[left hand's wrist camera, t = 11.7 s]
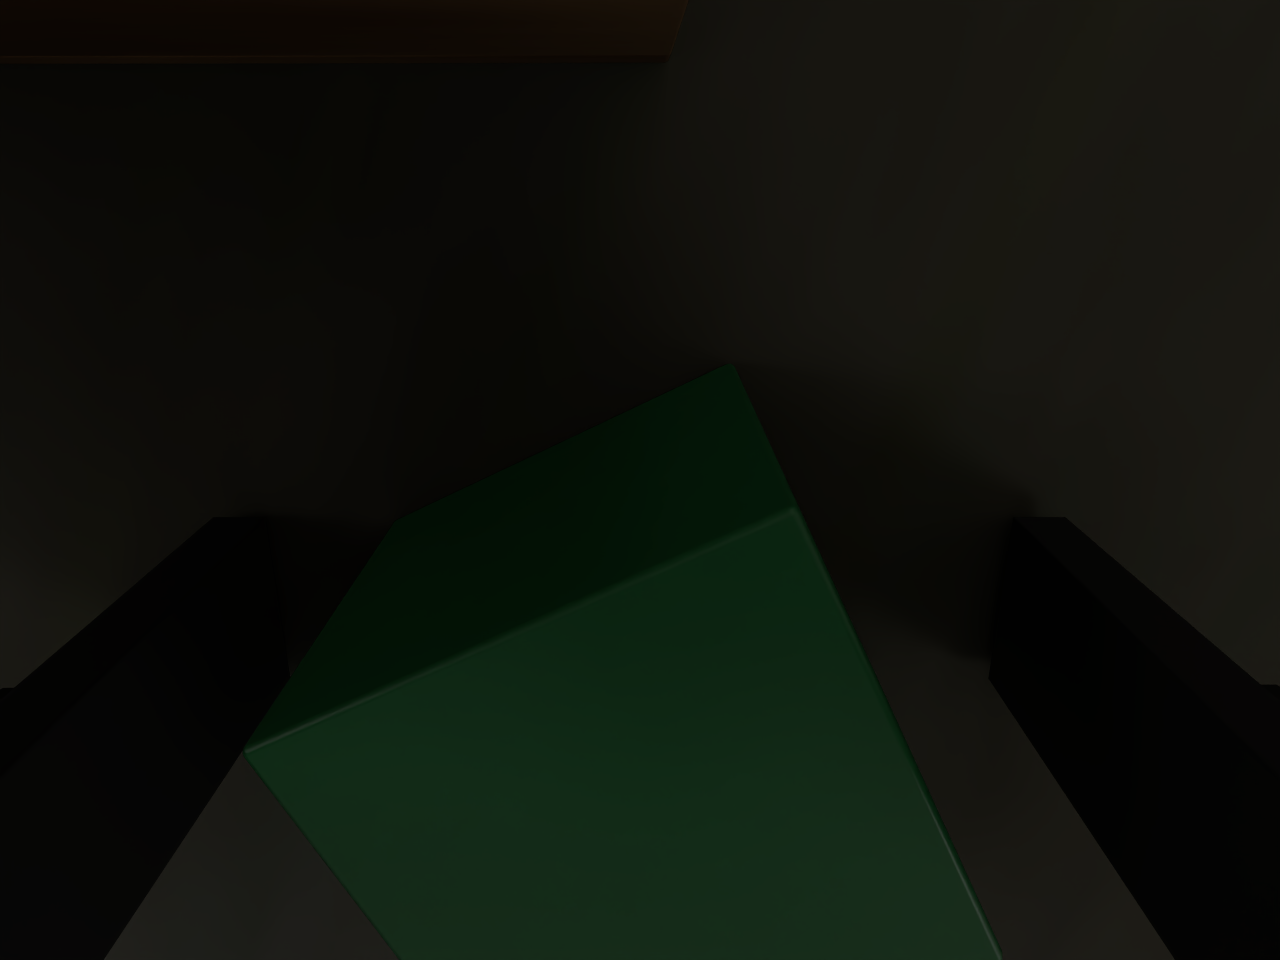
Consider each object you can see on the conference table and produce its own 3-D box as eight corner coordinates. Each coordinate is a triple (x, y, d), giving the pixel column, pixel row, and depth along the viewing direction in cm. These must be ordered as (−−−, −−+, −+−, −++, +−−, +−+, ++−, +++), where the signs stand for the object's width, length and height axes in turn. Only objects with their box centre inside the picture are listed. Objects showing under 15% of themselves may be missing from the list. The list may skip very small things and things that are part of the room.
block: (731, 360, 12) (797, 505, 7) (872, 668, 14) (1007, 963, 9) (392, 520, 13) (235, 752, 8) (564, 793, 15) (525, 1130, 10)
